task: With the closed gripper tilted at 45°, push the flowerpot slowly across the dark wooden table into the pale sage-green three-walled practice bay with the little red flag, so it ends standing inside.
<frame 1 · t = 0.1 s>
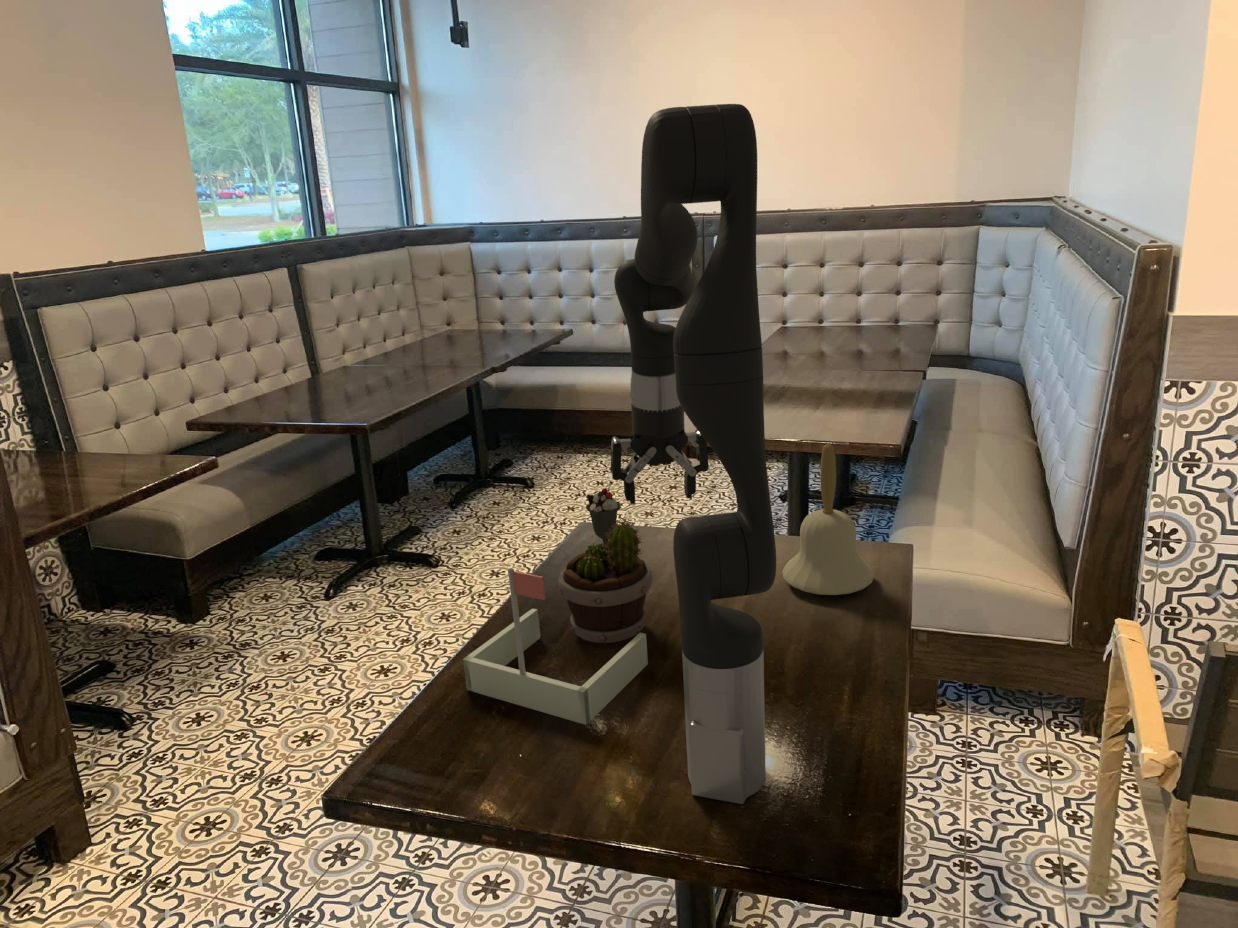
hand: (660, 498, 135), 23 cm above the table, tool pointing down, fingers open, 8 cm apart
handbell: (827, 584, 155), on the table
flowerpot: (609, 633, 143), on the table
sundae: (607, 556, 172), on the table
practice bay: (560, 674, 132), on the table
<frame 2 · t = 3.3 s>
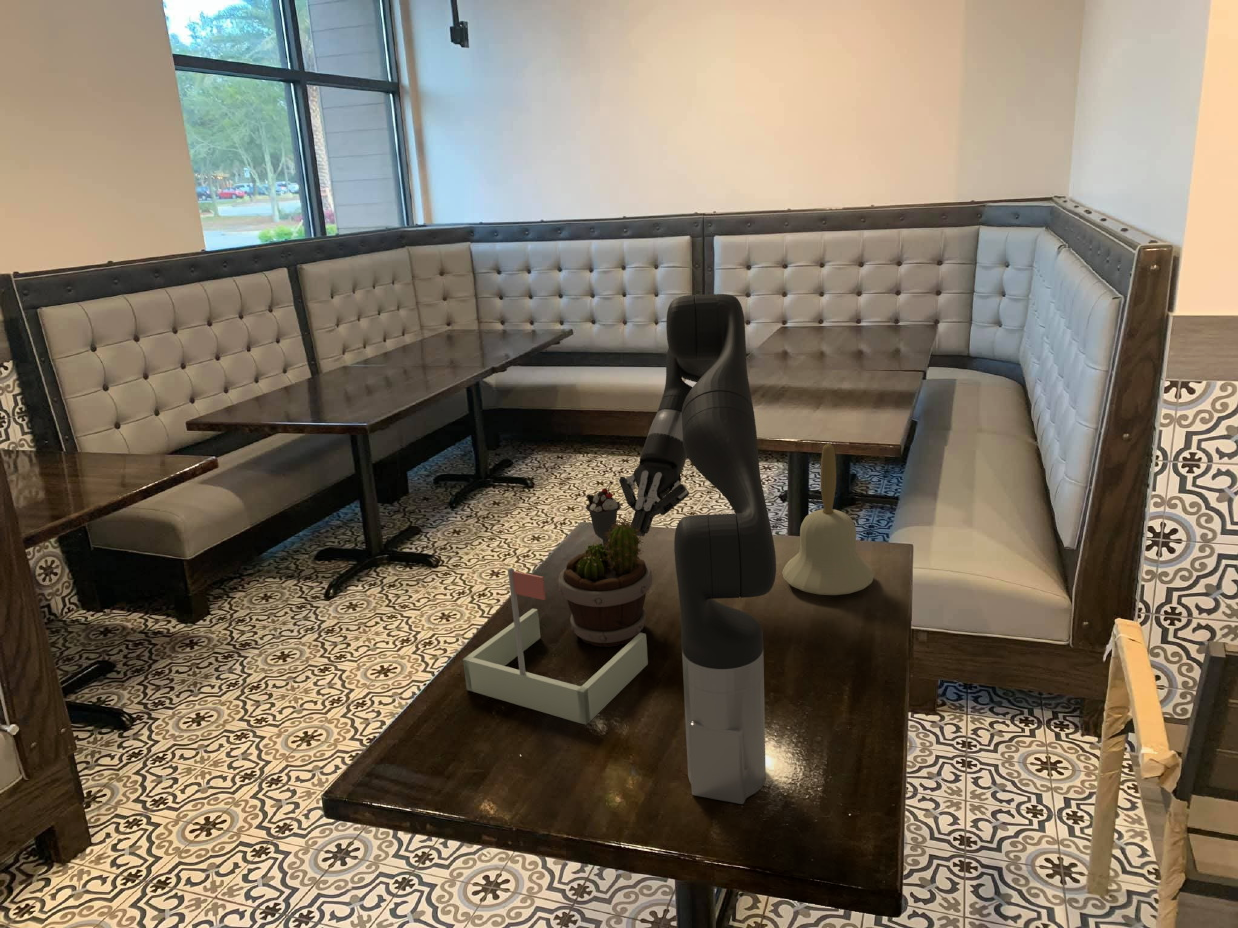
hand: (637, 534, 148), 13 cm above the table, tool tilted 45°, fingers closed
nothing on the table moved.
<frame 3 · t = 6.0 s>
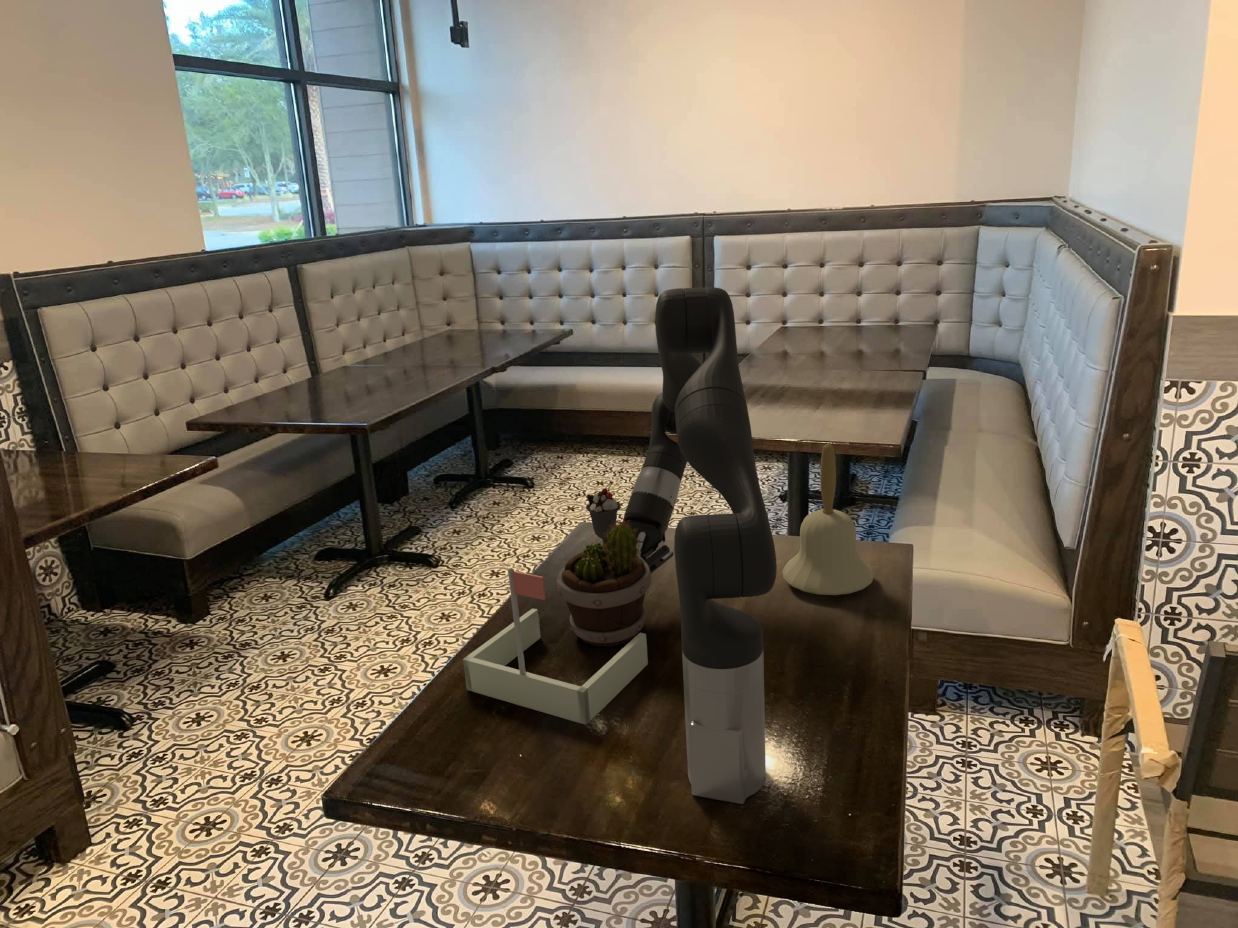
hand: (620, 595, 145), 5 cm above the table, tool tilted 45°, fingers closed
flowerpot: (609, 632, 143), on the table, touching gripper, hand
everything else where it was.
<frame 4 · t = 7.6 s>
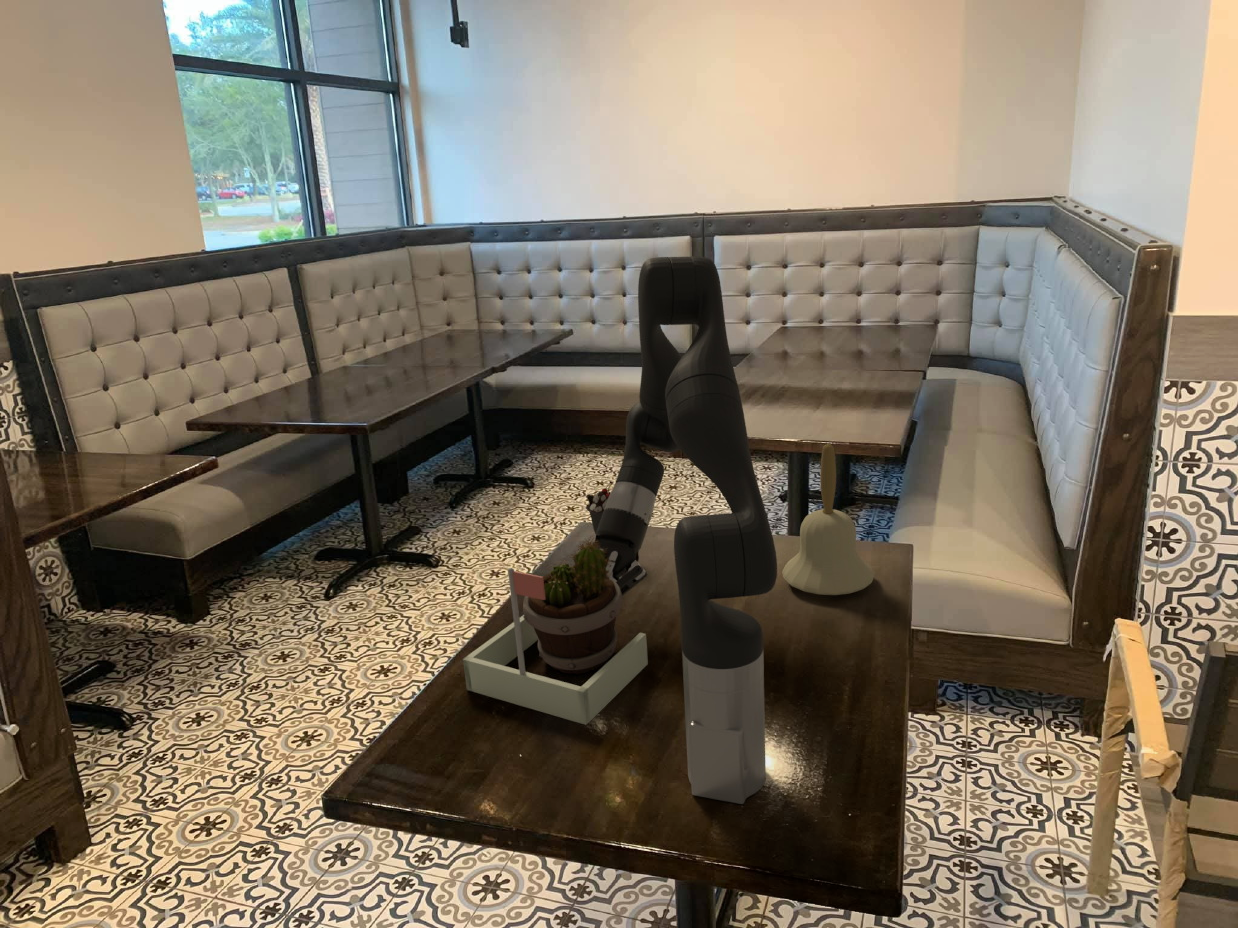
hand: (591, 618, 138), 5 cm above the table, tool tilted 45°, fingers closed
flowerpot: (579, 656, 136), on the table, touching gripper, hand
everything else where it was.
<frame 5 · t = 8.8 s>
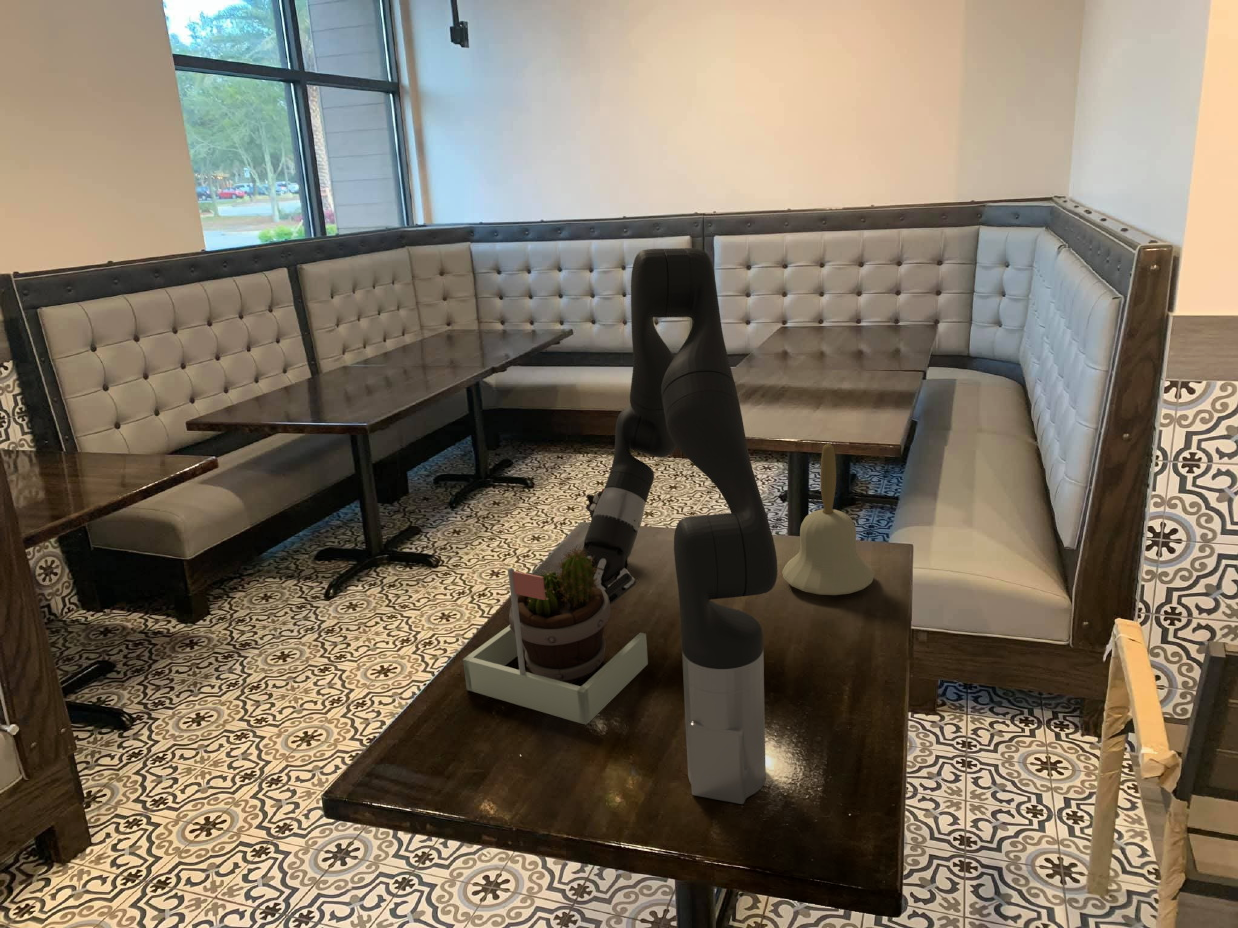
hand: (579, 627, 135), 5 cm above the table, tool tilted 45°, fingers closed
flowerpot: (567, 666, 134), on the table, touching gripper, hand
everything else where it was.
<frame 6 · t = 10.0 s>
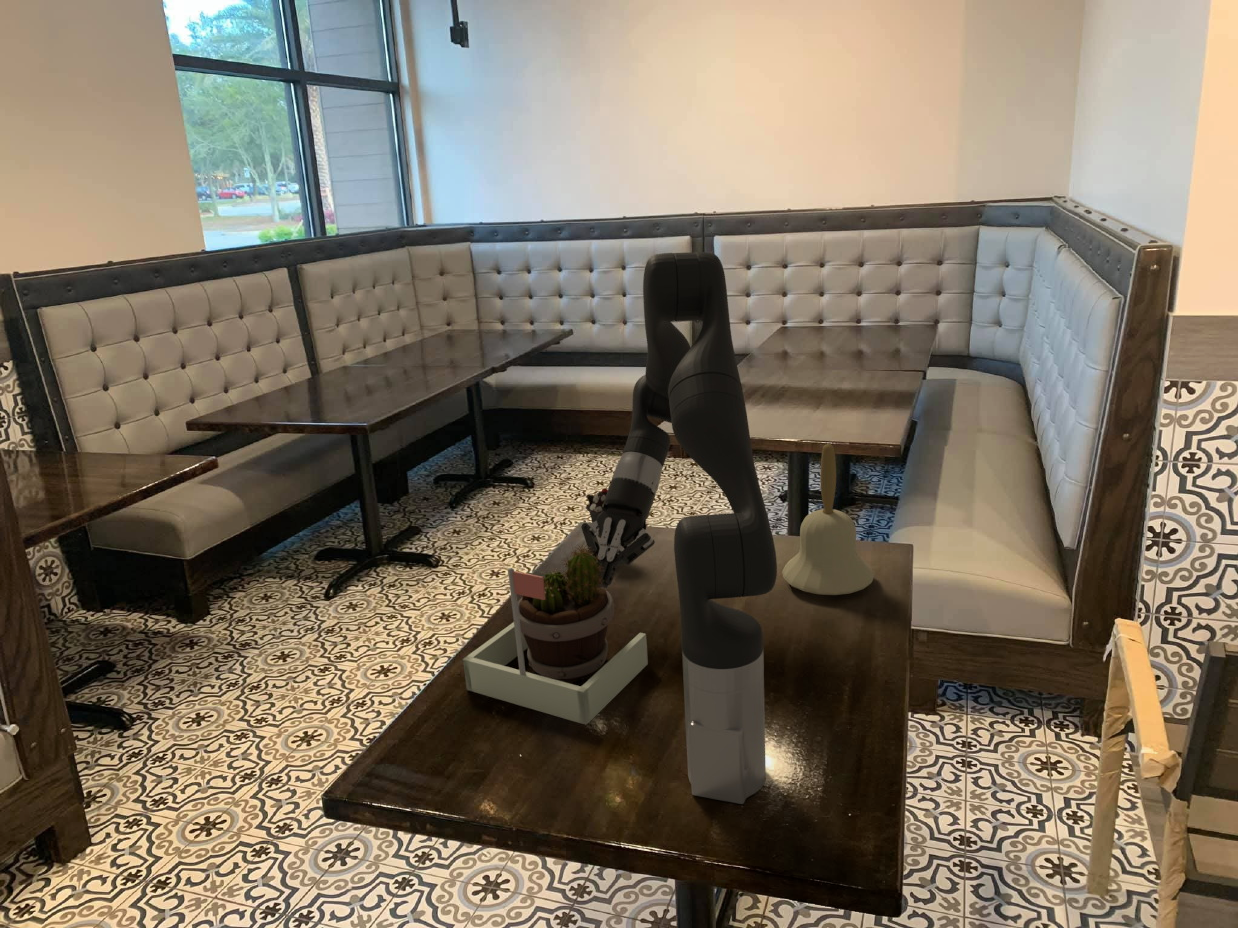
hand: (600, 585, 140), 9 cm above the table, tool tilted 45°, fingers closed
flowerpot: (569, 667, 134), on the table
everything else where it was.
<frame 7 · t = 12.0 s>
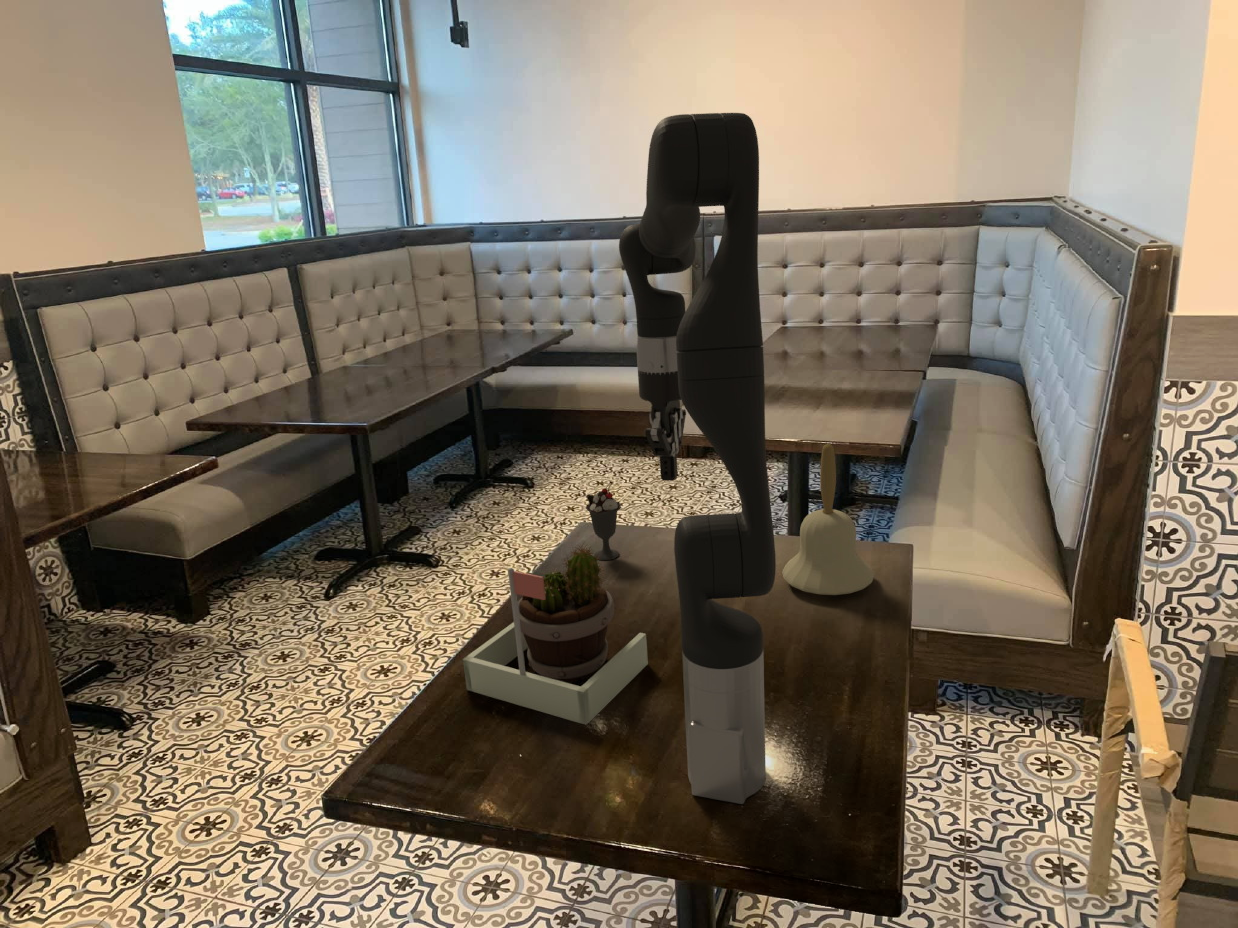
hand: (669, 478, 135), 25 cm above the table, tool pointing down, fingers closed
nothing on the table moved.
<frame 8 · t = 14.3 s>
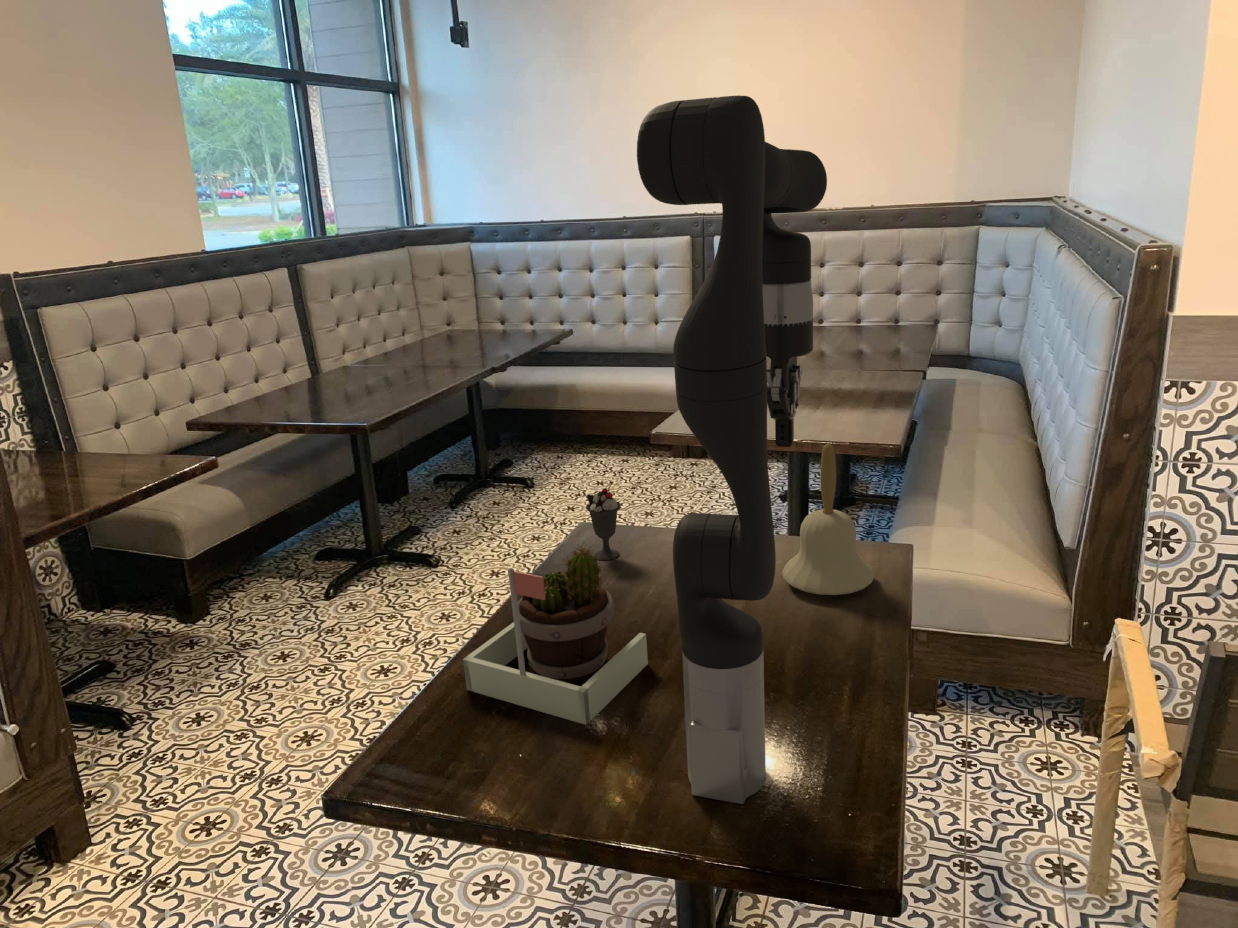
hand: (784, 444, 121), 33 cm above the table, tool pointing down, fingers closed
nothing on the table moved.
at the end: flowerpot 2.7 cm from the practice bay (horizontally); flowerpot tilted 0° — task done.
